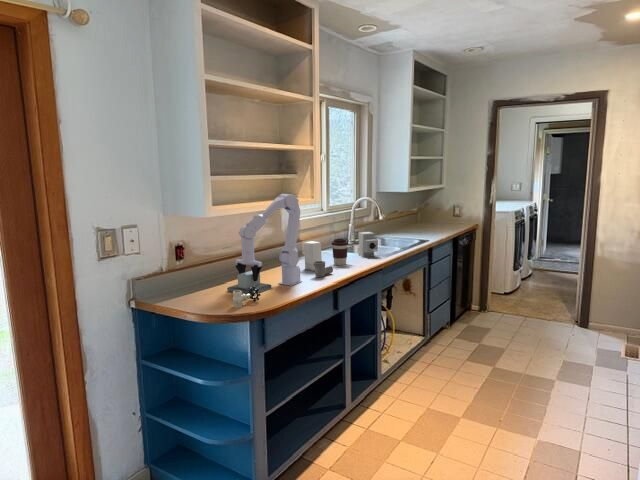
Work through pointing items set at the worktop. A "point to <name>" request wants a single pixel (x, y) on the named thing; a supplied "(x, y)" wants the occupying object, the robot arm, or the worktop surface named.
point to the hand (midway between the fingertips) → (249, 280)
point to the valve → (244, 296)
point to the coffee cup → (339, 251)
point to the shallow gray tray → (261, 287)
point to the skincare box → (312, 254)
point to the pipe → (322, 269)
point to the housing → (247, 280)
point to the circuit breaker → (367, 244)
